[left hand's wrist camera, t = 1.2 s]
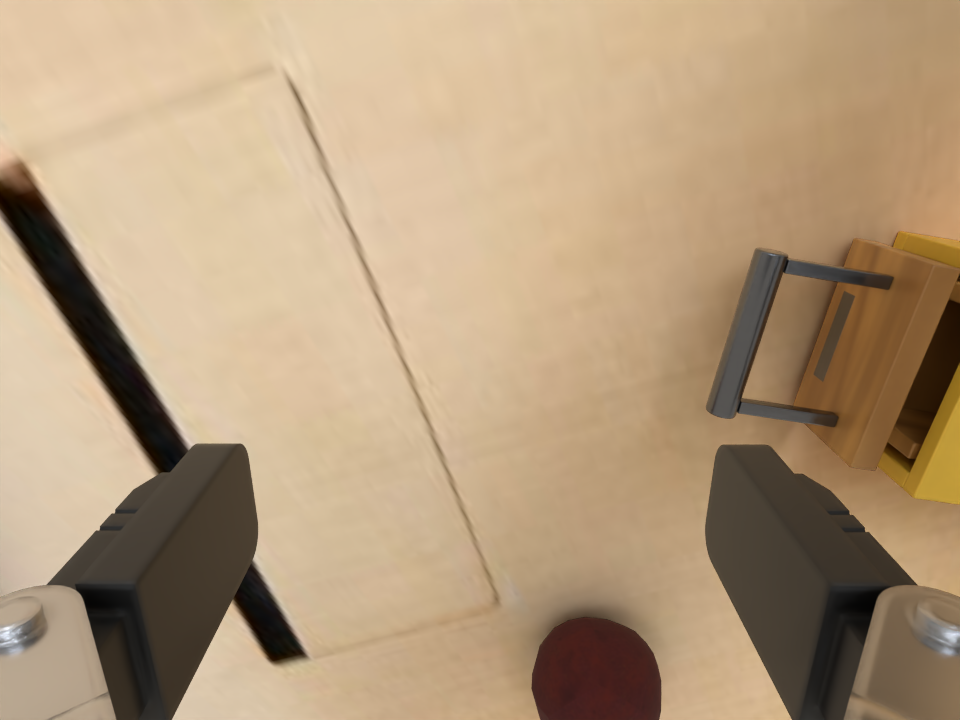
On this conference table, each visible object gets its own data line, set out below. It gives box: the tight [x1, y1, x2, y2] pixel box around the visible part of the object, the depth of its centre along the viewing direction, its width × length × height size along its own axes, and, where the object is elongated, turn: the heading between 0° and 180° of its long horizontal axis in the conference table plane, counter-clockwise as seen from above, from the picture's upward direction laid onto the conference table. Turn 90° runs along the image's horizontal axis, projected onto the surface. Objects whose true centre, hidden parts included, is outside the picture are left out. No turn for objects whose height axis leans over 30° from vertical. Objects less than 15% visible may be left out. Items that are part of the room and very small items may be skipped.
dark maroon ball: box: [532, 617, 661, 720], centre depth 38 cm, size 7×8×7 cm
